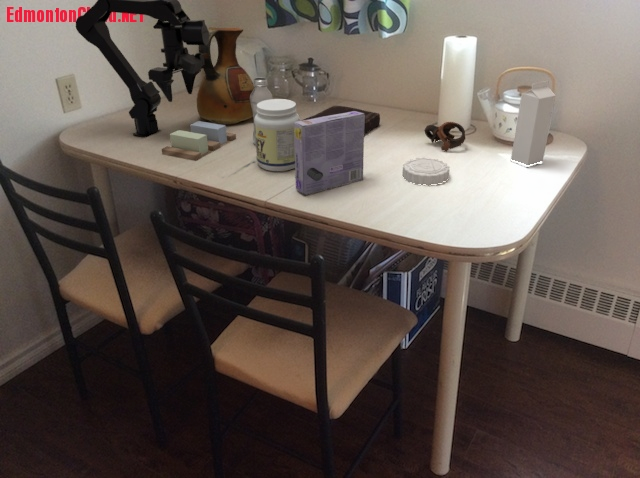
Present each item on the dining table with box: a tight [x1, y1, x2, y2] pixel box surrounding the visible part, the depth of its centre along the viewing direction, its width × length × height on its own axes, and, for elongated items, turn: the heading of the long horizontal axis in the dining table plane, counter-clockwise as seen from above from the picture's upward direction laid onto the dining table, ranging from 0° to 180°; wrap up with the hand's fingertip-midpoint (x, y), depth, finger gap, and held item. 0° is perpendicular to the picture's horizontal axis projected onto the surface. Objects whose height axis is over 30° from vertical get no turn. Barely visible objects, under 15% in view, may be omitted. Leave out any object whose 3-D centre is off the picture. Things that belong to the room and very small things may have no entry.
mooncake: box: [401, 157, 450, 186], centre depth 149 cm, size 12×12×4 cm
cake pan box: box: [294, 111, 365, 196], centre depth 142 cm, size 19×5×18 cm, turn 123°
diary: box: [300, 105, 381, 135], centre depth 180 cm, size 19×25×5 cm
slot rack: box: [161, 131, 237, 162], centre depth 168 cm, size 12×20×2 cm, turn 153°
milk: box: [510, 80, 556, 165], centre depth 151 cm, size 6×6×22 cm
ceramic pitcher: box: [196, 26, 255, 125], centre depth 185 cm, size 20×20×30 cm
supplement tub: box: [253, 98, 301, 172], centre depth 154 cm, size 12×12×17 cm
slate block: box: [189, 120, 227, 145], centre depth 171 cm, size 10×4×5 cm, turn 63°
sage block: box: [169, 129, 209, 155], centre depth 164 cm, size 10×4×5 cm, turn 63°
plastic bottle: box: [250, 77, 274, 146], centre depth 165 cm, size 6×7×20 cm
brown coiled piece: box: [423, 121, 466, 152], centre depth 167 cm, size 12×10×8 cm
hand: (180, 97), depth 174 cm, fingers open, 9 cm apart
